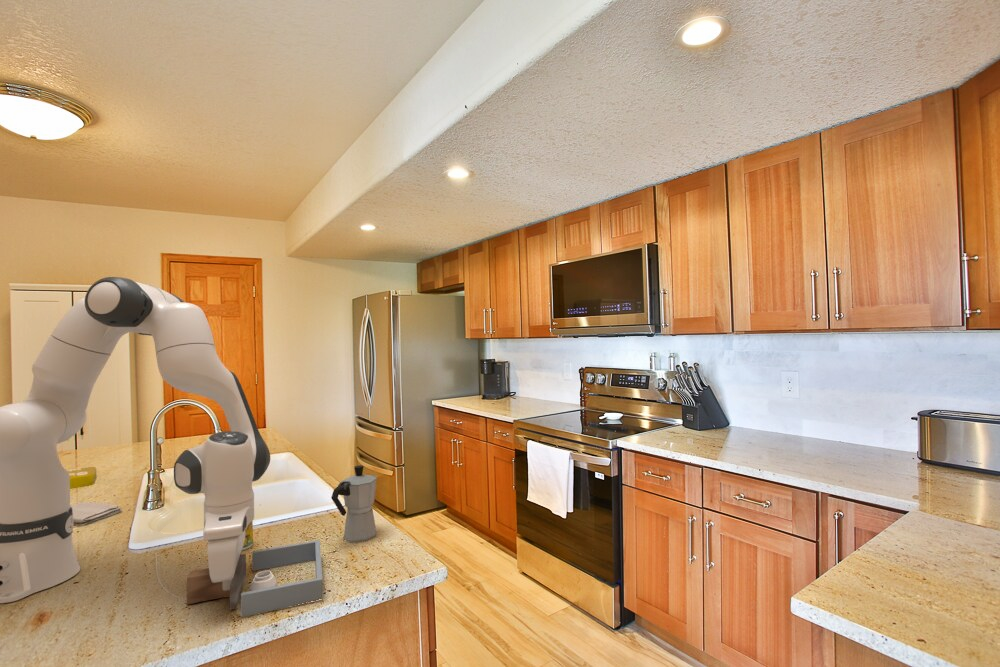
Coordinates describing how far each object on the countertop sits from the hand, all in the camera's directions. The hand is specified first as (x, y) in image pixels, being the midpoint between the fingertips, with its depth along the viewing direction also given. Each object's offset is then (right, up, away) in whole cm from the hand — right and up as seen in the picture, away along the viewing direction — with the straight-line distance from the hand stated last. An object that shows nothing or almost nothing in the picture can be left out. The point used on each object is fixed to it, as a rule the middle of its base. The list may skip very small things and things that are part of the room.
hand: (230, 583), depth 95 cm
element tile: (-104, -6, +78) cm, 130 cm away
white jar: (+6, -3, +2) cm, 6 cm away
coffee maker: (+17, -2, +26) cm, 32 cm away
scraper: (-2, -2, -1) cm, 3 cm away
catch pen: (+9, -2, +4) cm, 10 cm away
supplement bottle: (-10, -3, +22) cm, 24 cm away
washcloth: (-70, -5, +45) cm, 83 cm away
